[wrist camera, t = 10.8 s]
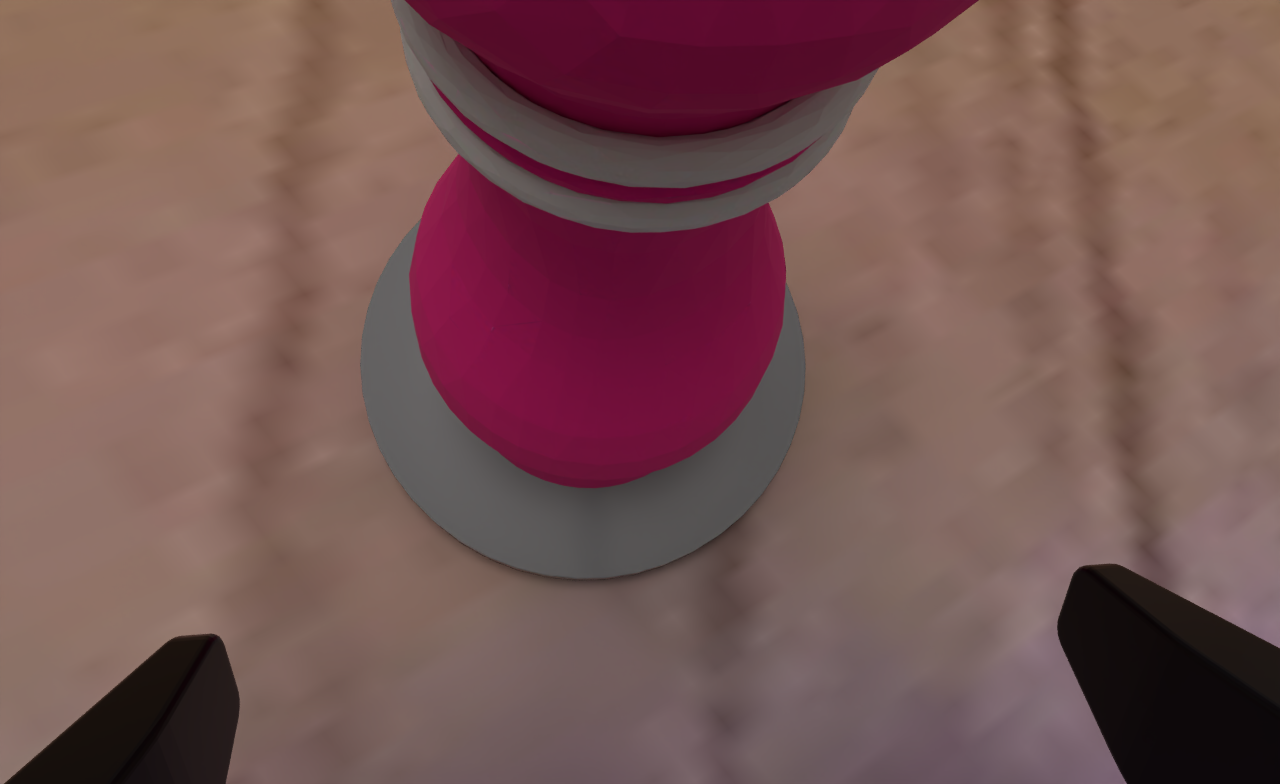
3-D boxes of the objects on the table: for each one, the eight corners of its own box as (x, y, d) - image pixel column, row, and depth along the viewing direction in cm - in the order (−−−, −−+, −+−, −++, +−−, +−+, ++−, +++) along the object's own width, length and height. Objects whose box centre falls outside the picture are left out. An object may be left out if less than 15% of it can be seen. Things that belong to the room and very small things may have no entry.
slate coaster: (858, 492, 22) (874, 484, 21) (444, 648, 20) (437, 649, 19) (703, 134, 25) (710, 110, 23) (320, 240, 23) (308, 219, 21)
